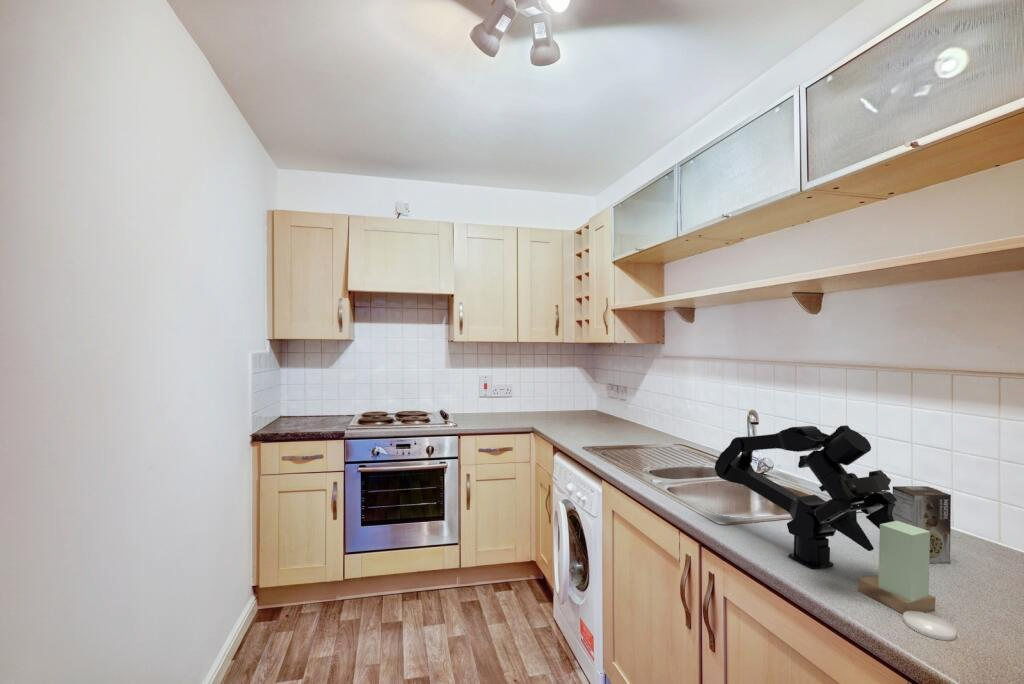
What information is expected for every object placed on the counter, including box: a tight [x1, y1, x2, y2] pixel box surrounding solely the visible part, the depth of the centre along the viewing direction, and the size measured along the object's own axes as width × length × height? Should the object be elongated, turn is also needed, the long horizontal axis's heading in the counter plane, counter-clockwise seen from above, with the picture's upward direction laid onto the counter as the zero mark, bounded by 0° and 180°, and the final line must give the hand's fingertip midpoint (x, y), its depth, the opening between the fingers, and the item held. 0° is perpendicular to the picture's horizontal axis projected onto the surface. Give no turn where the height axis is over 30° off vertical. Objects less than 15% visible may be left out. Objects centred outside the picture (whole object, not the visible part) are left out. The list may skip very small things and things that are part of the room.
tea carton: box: [878, 521, 930, 602], centre depth 90 cm, size 6×6×12 cm
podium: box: [857, 574, 936, 615], centre depth 91 cm, size 9×8×2 cm
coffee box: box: [892, 485, 952, 564], centre depth 110 cm, size 9×6×16 cm
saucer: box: [902, 611, 957, 642], centre depth 82 cm, size 7×7×1 cm
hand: (886, 546), depth 93 cm, fingers open, 9 cm apart
